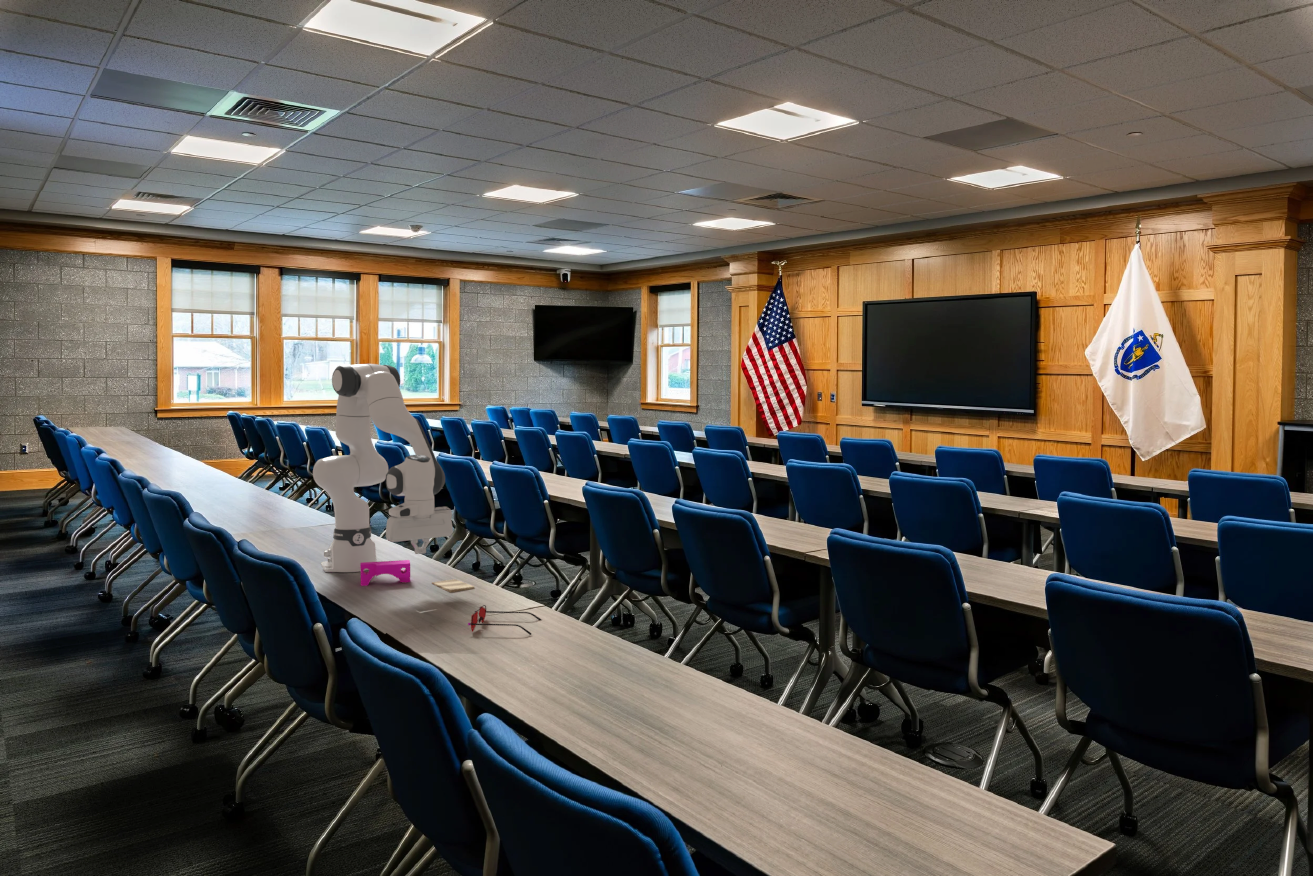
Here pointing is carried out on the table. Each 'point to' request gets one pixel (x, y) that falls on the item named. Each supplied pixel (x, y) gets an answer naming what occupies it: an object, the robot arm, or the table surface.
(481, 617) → the glasses
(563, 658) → the table surface
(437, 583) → the wooden board
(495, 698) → the table surface
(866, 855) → the table surface
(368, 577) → the toy block
